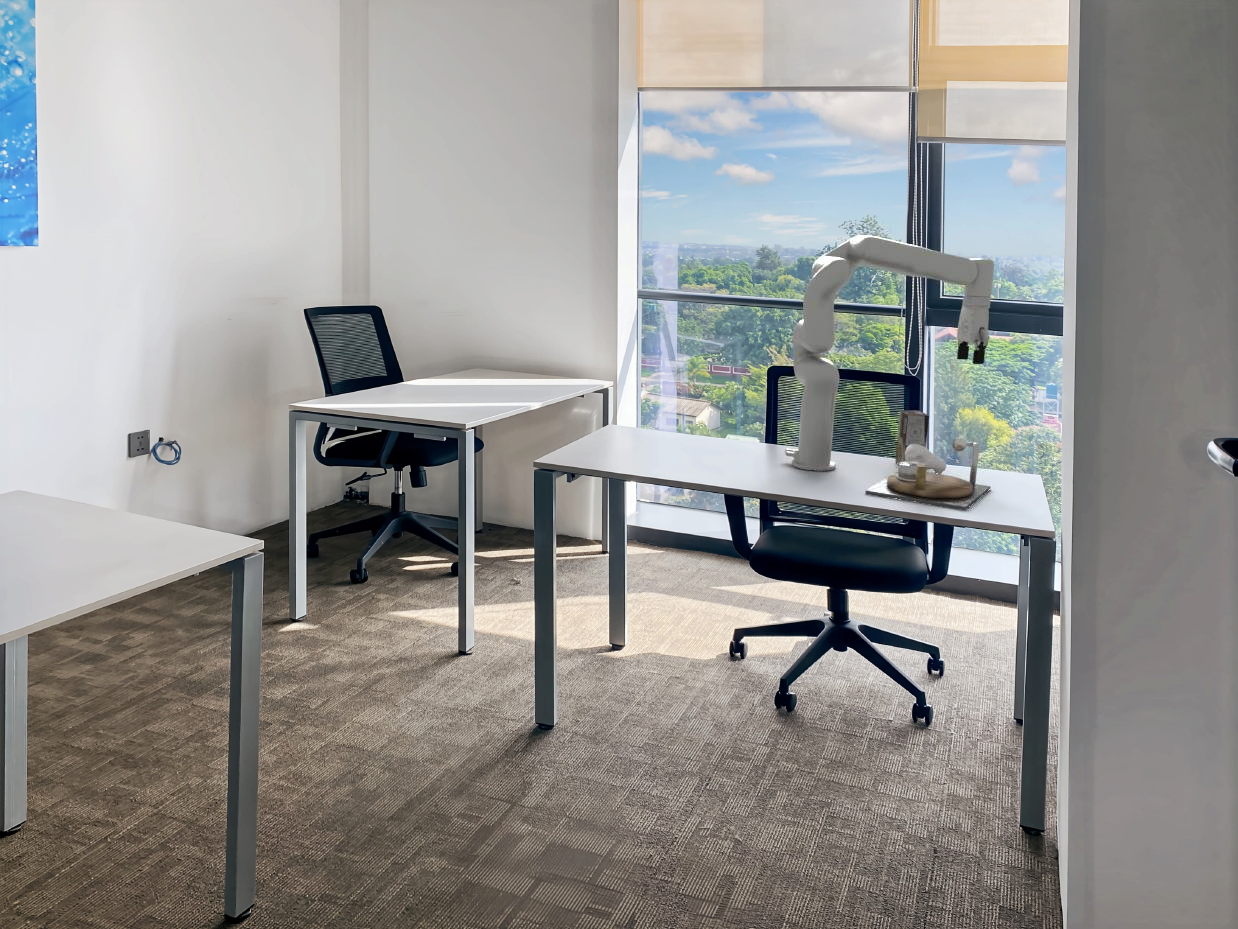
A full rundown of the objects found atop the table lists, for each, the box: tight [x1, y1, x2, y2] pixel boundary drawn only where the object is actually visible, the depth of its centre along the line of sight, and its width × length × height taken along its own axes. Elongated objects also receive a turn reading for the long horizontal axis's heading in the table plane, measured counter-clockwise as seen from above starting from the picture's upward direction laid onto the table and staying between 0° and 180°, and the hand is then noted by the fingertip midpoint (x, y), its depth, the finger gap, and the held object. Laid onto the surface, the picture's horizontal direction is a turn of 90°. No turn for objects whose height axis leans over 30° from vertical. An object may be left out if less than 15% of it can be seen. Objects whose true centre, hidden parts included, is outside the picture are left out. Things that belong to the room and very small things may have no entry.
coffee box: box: [894, 409, 930, 466], centre depth 306 cm, size 9×6×16 cm
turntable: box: [886, 465, 973, 498], centre depth 278 cm, size 22×22×7 cm
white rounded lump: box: [905, 444, 947, 474], centre depth 298 cm, size 6×8×12 cm
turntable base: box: [864, 437, 992, 511], centre depth 277 cm, size 26×26×14 cm
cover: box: [896, 461, 926, 483], centre depth 280 cm, size 8×8×4 cm
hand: (970, 361), depth 303 cm, fingers open, 9 cm apart
